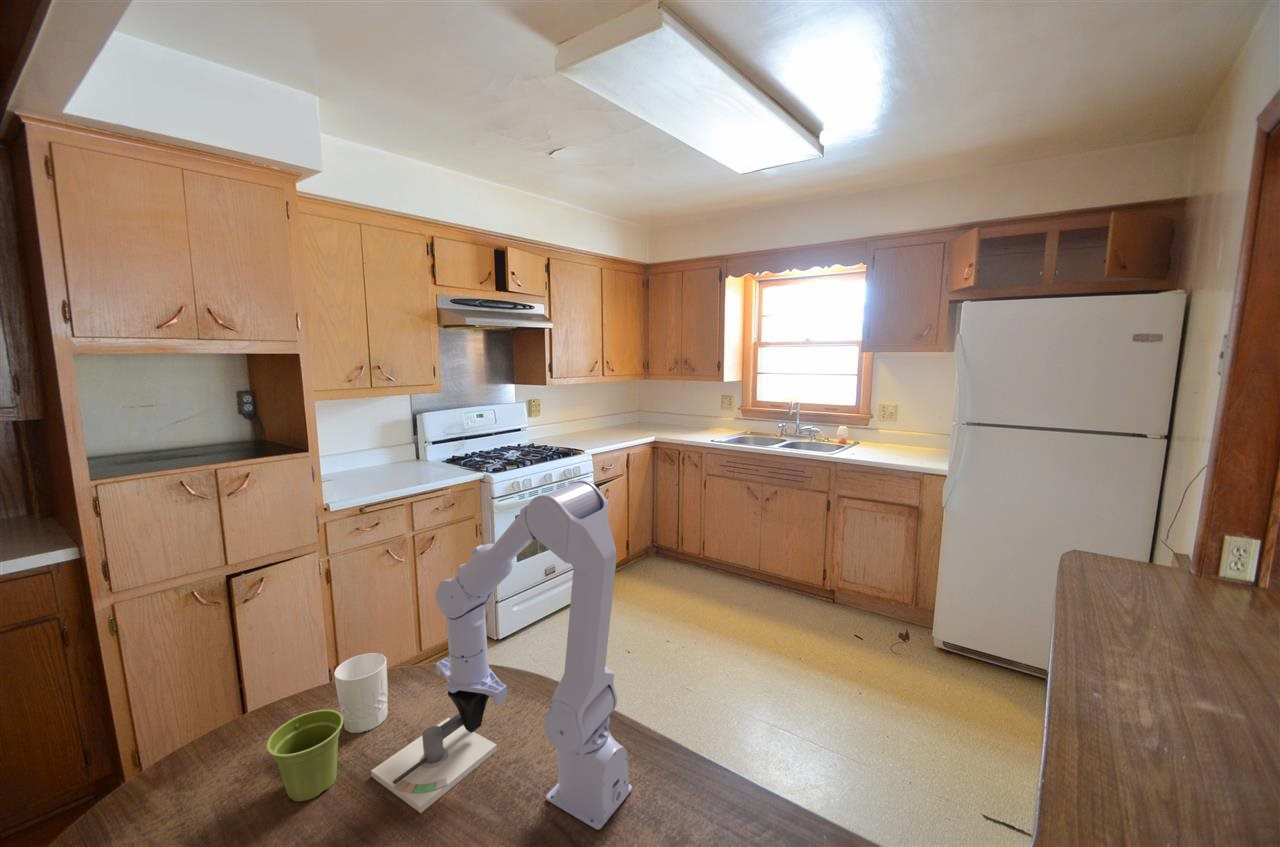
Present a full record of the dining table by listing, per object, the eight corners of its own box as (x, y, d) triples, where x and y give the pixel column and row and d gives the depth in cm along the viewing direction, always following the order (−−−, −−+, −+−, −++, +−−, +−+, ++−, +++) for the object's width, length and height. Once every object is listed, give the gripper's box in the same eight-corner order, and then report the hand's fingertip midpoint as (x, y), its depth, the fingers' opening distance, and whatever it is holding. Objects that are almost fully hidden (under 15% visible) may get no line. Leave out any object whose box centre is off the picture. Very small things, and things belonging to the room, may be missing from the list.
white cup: (329, 727, 89) (323, 672, 88) (372, 700, 96) (367, 648, 95) (359, 742, 85) (353, 685, 84) (401, 712, 92) (396, 659, 91)
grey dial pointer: (400, 790, 74) (397, 764, 73) (388, 781, 76) (386, 756, 75) (489, 722, 87) (487, 700, 87) (478, 716, 89) (476, 695, 88)
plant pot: (261, 820, 71) (254, 762, 70) (287, 768, 80) (281, 716, 79) (338, 803, 74) (332, 746, 73) (355, 754, 83) (350, 703, 82)
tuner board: (497, 750, 83) (497, 743, 83) (421, 814, 72) (420, 806, 71) (448, 722, 89) (448, 716, 89) (371, 776, 78) (370, 769, 78)
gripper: (417, 646, 83) (423, 725, 84) (478, 675, 75) (484, 762, 77) (454, 626, 89) (460, 701, 90) (515, 651, 81) (520, 732, 82)
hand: (473, 727), depth 84 cm, fingers closed
